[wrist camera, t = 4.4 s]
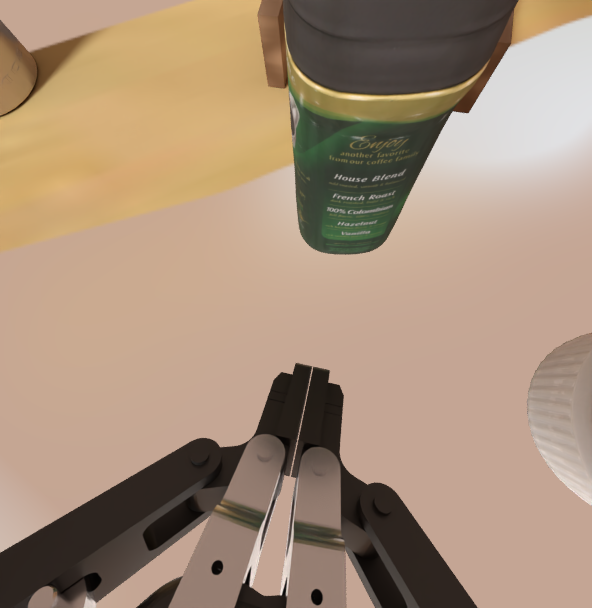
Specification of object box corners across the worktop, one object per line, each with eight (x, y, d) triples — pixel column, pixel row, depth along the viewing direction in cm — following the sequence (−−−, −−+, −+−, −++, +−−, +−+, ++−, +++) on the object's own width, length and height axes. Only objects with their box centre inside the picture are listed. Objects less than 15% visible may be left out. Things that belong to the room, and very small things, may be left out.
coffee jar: (394, 258, 25) (617, -45, 7) (297, 259, 25) (263, -24, 7) (387, 154, 27) (543, -289, 9) (297, 157, 27) (271, -263, 9)
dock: (268, 86, 29) (257, 14, 23) (288, 15, 31) (282, -68, 25) (468, 113, 27) (510, 43, 22) (477, 37, 29) (519, -47, 23)
